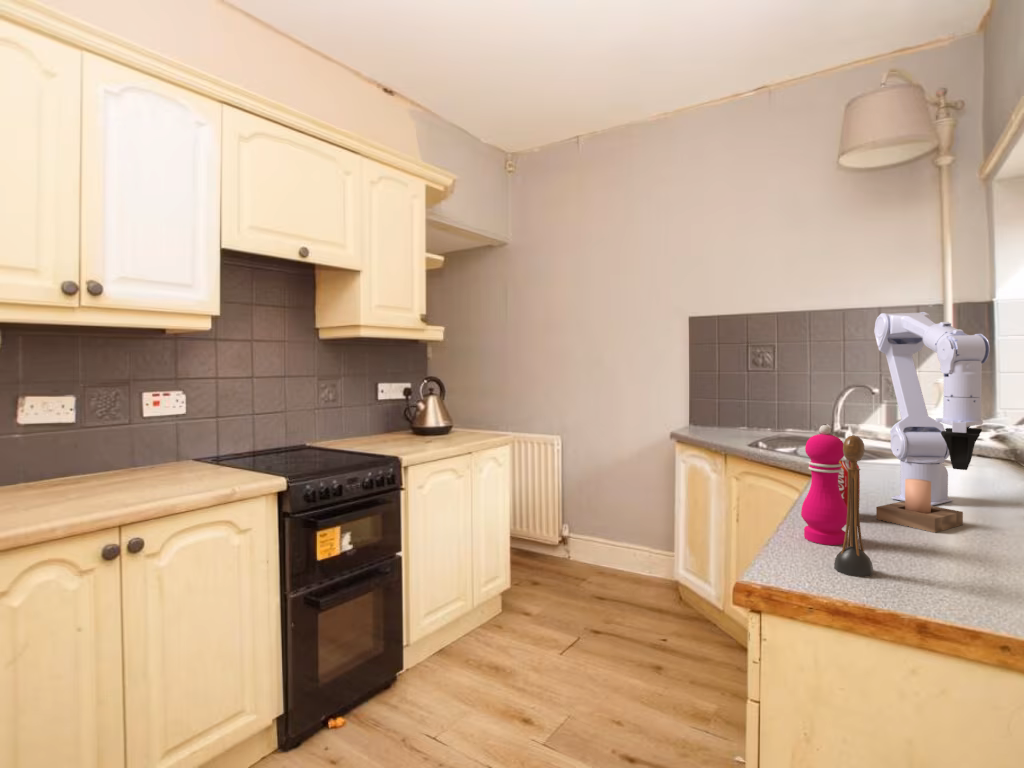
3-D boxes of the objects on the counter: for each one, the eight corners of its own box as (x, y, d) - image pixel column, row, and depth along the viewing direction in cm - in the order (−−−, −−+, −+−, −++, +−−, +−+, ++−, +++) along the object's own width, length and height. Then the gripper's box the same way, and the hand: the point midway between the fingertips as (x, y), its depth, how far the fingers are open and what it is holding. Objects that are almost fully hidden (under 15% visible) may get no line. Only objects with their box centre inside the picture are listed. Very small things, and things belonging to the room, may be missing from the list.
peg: (912, 518, 108) (913, 478, 108) (935, 523, 105) (935, 481, 104) (900, 520, 107) (900, 479, 106) (923, 526, 103) (923, 483, 103)
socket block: (904, 512, 112) (904, 500, 112) (962, 524, 103) (962, 511, 103) (876, 519, 108) (876, 506, 108) (934, 532, 99) (934, 518, 99)
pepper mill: (856, 547, 91) (856, 427, 90) (808, 545, 92) (809, 427, 92) (839, 534, 98) (839, 423, 98) (795, 532, 99) (796, 422, 99)
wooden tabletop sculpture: (842, 561, 85) (843, 432, 84) (877, 568, 81) (878, 434, 81) (830, 571, 80) (831, 435, 80) (867, 579, 77) (867, 438, 77)
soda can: (867, 521, 107) (867, 459, 106) (830, 521, 107) (831, 460, 106) (846, 511, 114) (846, 454, 113) (811, 511, 114) (811, 454, 113)
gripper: (939, 394, 114) (939, 459, 115) (932, 397, 104) (931, 469, 104) (984, 395, 110) (983, 463, 110) (981, 398, 99) (980, 473, 99)
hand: (961, 466), depth 107 cm, fingers open, 7 cm apart
